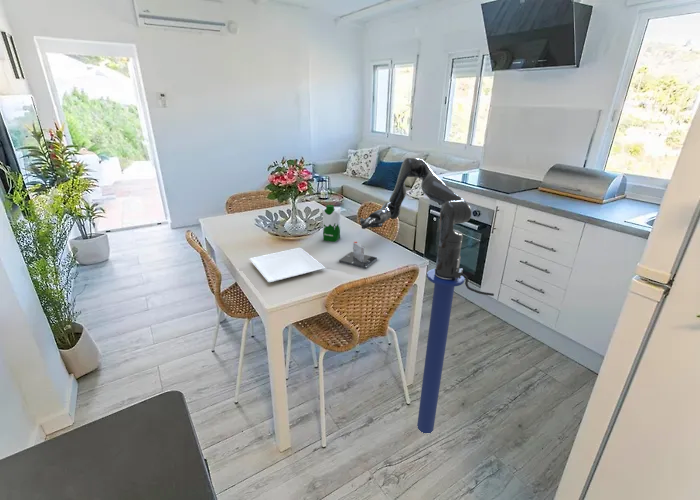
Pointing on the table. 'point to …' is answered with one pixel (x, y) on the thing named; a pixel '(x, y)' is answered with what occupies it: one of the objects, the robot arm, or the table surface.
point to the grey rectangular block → (358, 251)
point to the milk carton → (331, 223)
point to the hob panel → (353, 261)
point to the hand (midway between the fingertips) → (363, 226)
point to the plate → (285, 264)
